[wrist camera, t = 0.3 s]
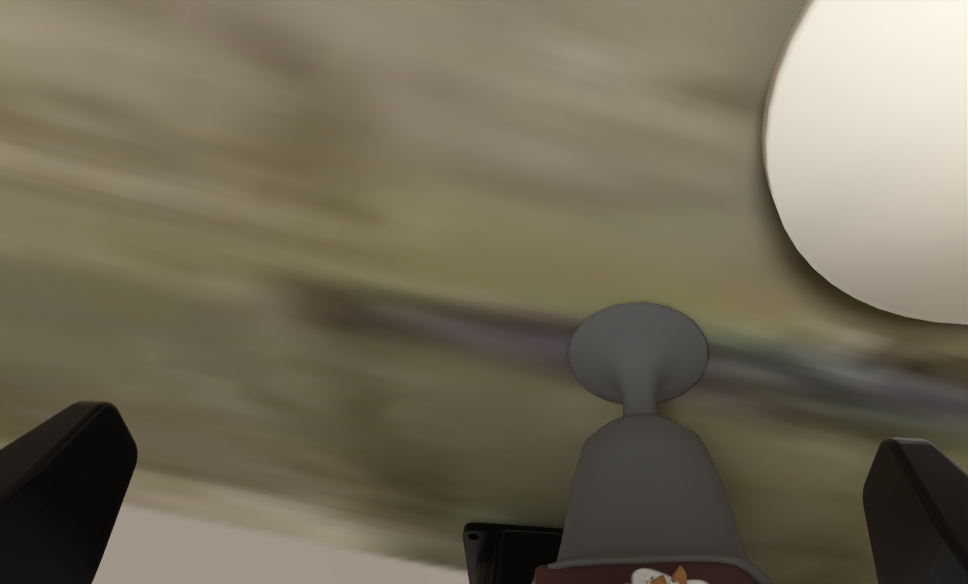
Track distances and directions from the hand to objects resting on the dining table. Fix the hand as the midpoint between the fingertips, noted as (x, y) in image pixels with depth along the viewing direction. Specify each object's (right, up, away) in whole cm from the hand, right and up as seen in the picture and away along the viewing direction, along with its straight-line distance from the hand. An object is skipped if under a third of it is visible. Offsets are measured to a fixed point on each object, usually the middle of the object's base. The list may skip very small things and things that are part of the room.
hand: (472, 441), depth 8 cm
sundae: (+6, 0, +18) cm, 18 cm away
